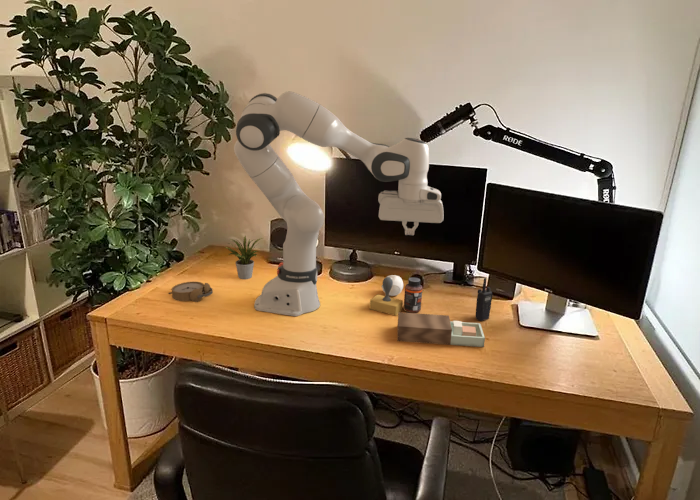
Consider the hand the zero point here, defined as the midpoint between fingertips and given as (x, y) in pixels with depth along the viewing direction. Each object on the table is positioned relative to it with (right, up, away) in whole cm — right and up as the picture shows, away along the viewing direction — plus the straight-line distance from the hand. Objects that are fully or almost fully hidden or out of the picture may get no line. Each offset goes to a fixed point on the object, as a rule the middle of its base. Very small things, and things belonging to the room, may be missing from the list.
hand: (409, 234), depth 170 cm
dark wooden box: (+4, -32, -2) cm, 32 cm away
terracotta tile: (+18, -29, -4) cm, 35 cm away
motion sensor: (-3, -22, +28) cm, 35 cm away
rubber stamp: (-6, -26, +16) cm, 31 cm away
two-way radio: (+25, -28, +11) cm, 39 cm away
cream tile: (+13, -29, -3) cm, 32 cm away
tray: (+17, -32, -3) cm, 37 cm away
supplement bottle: (+3, -26, +16) cm, 30 cm away
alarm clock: (-75, -22, +21) cm, 81 cm away
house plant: (-59, -15, +41) cm, 74 cm away
